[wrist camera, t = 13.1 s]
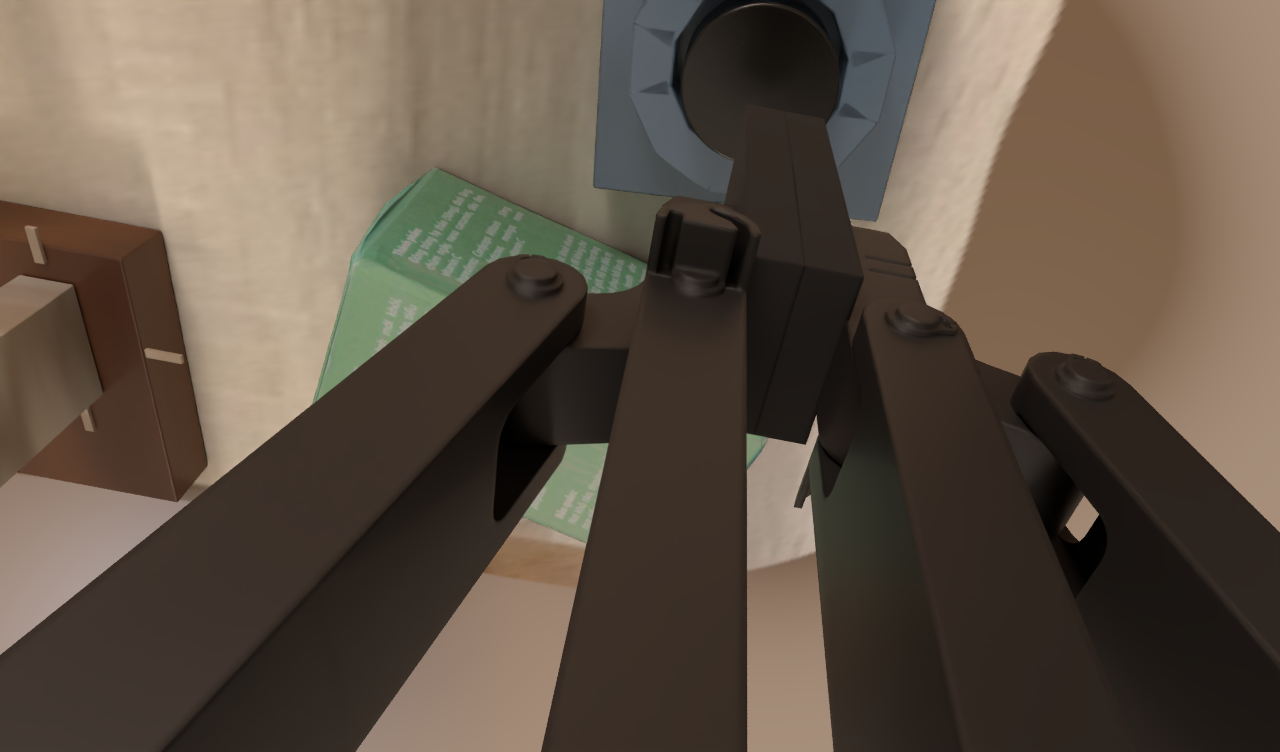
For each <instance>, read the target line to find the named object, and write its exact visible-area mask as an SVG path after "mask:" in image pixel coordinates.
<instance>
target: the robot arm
mask: <svg viewBox="0 0 1280 752" xmlns="http://www.w3.org/2000/svg"><path fill="white" fill-rule="evenodd" d="M911 265H912V264H911V261H910V259H909V256H908V253H907V250H906V249H905V248H904V247H903V246H902V245H901V244H900V243H899V242H898V241H897V240H896V239H895V238H893V237H892V236H891V235H890V234H889V233H885V232H880V231H875V230H870V229H864V228H859V227H854V226H851V222H850V218H849V214H848V211H847V207H846V203H845V199H844V195H843V191H842V187H841V183H840V179H839V175H838V171H837V167H836V163H835V159H834V155H833V151H832V147H831V143H830V139H829V135H828V131H827V127H826V123H825V119H823V118H818V117H812V116H807V115H802V114H797V113H791V112H786V111H781V110H776V109H770V108H765V107H760V106H755V105H749V104H747V105H746V110H745V114H744V118H743V123H742V127H741V131H740V136H739V140H738V145H737V149H736V153H735V158H734V162H733V167H732V171H731V175H730V180H729V184H728V189H727V193H726V197H725V202H724V204H720V203H715V202H710V201H705V200H699V199H694V198H689V197H684V196H679V195H677V196H676V197H674V198H673V199H671V200H670V201H668V202H667V203H665V204H664V205H662V208H661V209H660V210H659V212H658V213H657V214H656V220H655V225H654V231H653V236H652V242H651V247H650V253H649V259H648V264H647V270H646V275H645V279H644V281H642V282H641V283H640V284H639V285H637V286H635V287H633V288H630V289H628V290H624V291H619V292H614V293H587V292H588V285H587V282H586V280H585V277H584V276H583V275H582V274H581V273H580V272H579V271H577V270H576V269H575V268H574V267H572V266H570V265H567V264H565V263H563V262H561V261H558V260H555V259H550V258H546V257H545V256H542V255H534V254H532V256H529V254H519V255H516V256H510V257H505V258H499V259H497V260H495V261H493V262H491V263H489V264H487V265H486V266H484V267H483V268H482V269H481V270H479V271H478V272H477V273H476V274H474V275H473V276H472V277H471V278H469V279H468V280H467V281H466V282H464V283H463V284H462V285H461V286H459V287H458V288H457V289H456V290H454V291H453V292H452V293H451V294H450V295H448V296H447V297H446V298H445V299H443V300H442V301H441V302H440V303H438V304H437V305H436V306H435V307H433V308H432V309H431V310H430V311H428V312H427V313H426V314H425V315H423V316H422V317H421V318H420V319H418V320H417V321H416V322H415V323H413V324H412V325H411V326H410V327H408V328H407V329H406V330H405V331H403V332H402V333H401V334H400V335H398V336H397V337H396V338H395V339H393V340H392V341H391V342H390V343H388V344H387V345H386V346H385V347H383V348H382V349H381V350H380V351H378V352H377V353H376V354H375V355H373V356H372V357H371V358H370V359H369V360H367V361H366V362H365V363H364V364H362V365H361V366H360V367H359V368H357V369H356V370H355V371H354V372H352V373H351V374H350V375H349V376H347V377H346V378H345V379H344V380H342V381H341V382H340V383H339V384H337V385H336V386H335V387H334V388H332V389H331V390H330V391H329V392H327V393H326V394H325V395H324V396H322V397H321V398H320V399H319V400H317V401H316V402H315V403H314V404H312V405H311V406H310V407H309V408H307V409H306V410H305V411H304V412H302V413H301V414H300V415H299V416H297V417H296V418H295V419H294V420H292V421H291V422H290V423H289V424H288V425H286V426H285V427H284V428H283V429H281V430H280V431H279V432H278V433H276V434H275V435H274V436H273V437H271V438H270V439H269V440H268V441H266V442H265V443H264V444H263V445H261V446H260V447H259V448H258V449H256V450H255V451H254V452H253V453H251V454H250V455H249V456H248V457H246V458H245V459H244V460H243V461H241V462H240V463H239V464H238V465H236V466H235V467H234V468H233V469H231V470H230V471H229V472H228V473H226V474H225V475H224V476H223V477H221V478H220V479H219V480H218V481H216V482H215V483H214V484H213V485H212V486H210V487H209V488H208V489H207V490H205V491H204V492H203V493H202V494H200V495H199V496H198V497H197V498H195V499H194V500H193V501H192V502H190V503H189V504H188V505H187V506H185V507H184V508H183V509H182V510H181V511H179V512H178V513H177V514H175V515H174V516H173V517H172V518H170V519H169V520H168V521H167V522H165V523H164V524H163V525H162V526H160V527H159V528H158V529H157V530H156V531H154V532H153V533H152V534H150V535H149V536H148V537H147V538H146V539H144V540H143V541H142V542H141V543H139V544H138V545H137V546H136V547H134V548H133V549H132V550H131V551H129V552H128V553H127V554H126V555H124V556H123V557H122V558H121V559H119V560H118V561H117V562H116V563H114V564H113V565H112V566H111V567H110V568H108V569H107V570H106V571H104V572H103V573H102V574H101V575H99V576H98V577H97V578H96V579H94V580H93V581H92V582H91V583H89V584H88V585H87V586H86V587H84V588H83V589H82V590H81V591H80V592H78V593H77V594H76V595H74V596H73V597H72V598H71V599H70V600H68V601H67V602H66V603H65V604H63V605H62V606H61V607H60V608H58V609H57V610H56V611H54V612H53V613H52V614H51V615H50V616H48V617H47V618H46V619H45V620H43V621H42V622H41V623H40V624H38V625H37V626H36V627H35V628H33V629H32V630H31V631H30V632H28V633H27V634H26V635H25V636H23V637H22V638H21V639H20V640H18V641H17V642H16V643H15V644H13V645H12V646H11V647H10V648H8V649H7V650H6V651H5V652H3V653H2V654H1V655H0V752H356V750H357V749H358V747H359V746H360V745H361V743H362V742H363V740H364V739H365V738H366V736H367V735H368V733H369V732H370V730H371V729H372V728H373V726H374V725H375V724H376V722H377V721H378V719H379V718H380V716H381V715H382V714H383V712H384V711H385V709H386V708H387V706H388V705H389V704H390V702H391V701H392V700H393V698H394V697H395V695H396V694H397V693H398V691H399V690H400V688H401V687H402V686H403V684H404V683H405V681H406V680H407V678H408V677H409V676H410V674H411V673H412V671H413V670H414V669H415V667H416V666H417V664H418V663H419V661H420V660H421V659H422V657H423V656H424V655H425V653H426V652H427V650H428V649H429V648H430V646H431V645H432V643H433V642H434V640H435V639H436V638H437V636H438V635H439V633H440V632H441V631H442V629H443V628H444V626H445V625H446V624H447V622H448V621H449V619H450V618H451V617H452V615H453V614H454V612H455V611H456V609H457V608H458V607H459V605H460V604H461V602H462V601H463V599H464V598H465V597H466V595H467V594H468V593H469V591H470V590H471V588H472V587H473V585H474V584H475V583H476V581H477V580H478V579H479V577H480V576H481V574H482V573H483V572H484V570H485V569H486V567H487V566H488V564H489V563H490V562H491V560H492V559H493V557H494V556H495V555H496V553H497V552H498V550H499V549H500V548H501V546H502V545H503V543H504V542H505V541H506V539H507V538H508V536H509V535H510V534H511V532H512V531H513V529H514V528H515V526H516V525H517V524H518V522H519V521H520V519H521V518H522V517H523V515H524V514H525V512H526V511H527V510H528V508H529V507H530V505H531V504H532V503H533V501H534V500H535V498H536V497H537V496H538V494H539V493H540V491H541V490H542V488H543V487H544V486H545V484H546V483H547V481H548V480H549V479H550V477H551V476H552V474H553V473H554V472H555V470H556V469H557V467H558V466H559V465H560V463H561V462H562V460H563V457H564V454H565V451H566V447H567V445H575V444H601V443H609V444H608V448H607V453H606V458H605V462H604V467H603V471H602V476H601V480H600V485H599V490H598V494H597V499H596V503H595V508H594V512H593V517H592V522H591V526H590V531H589V535H588V540H587V544H586V549H585V554H584V558H583V563H582V567H581V572H580V576H579V581H578V586H577V590H576V595H575V599H574V604H573V609H572V613H571V618H570V622H569V627H568V632H567V636H566V641H565V645H564V649H563V654H562V659H561V663H560V668H559V672H558V677H557V682H556V686H555V691H554V695H553V700H552V705H551V709H550V714H549V718H548V723H547V727H546V732H545V736H544V741H543V745H542V750H541V752H747V434H752V435H758V436H763V437H768V438H773V439H779V440H784V441H789V442H794V443H799V444H805V445H806V442H807V439H808V437H809V434H810V431H811V428H812V425H813V422H814V420H815V417H816V414H817V423H818V432H819V435H818V438H817V441H816V443H815V446H814V449H813V452H812V454H811V457H810V460H809V463H808V466H807V468H806V471H805V474H804V477H803V480H802V482H801V485H800V488H799V491H798V493H797V496H796V500H795V505H794V507H796V508H802V506H803V504H804V501H805V498H806V497H808V496H809V495H811V501H812V512H813V523H814V535H815V546H816V557H817V569H818V579H819V591H820V602H821V614H822V625H823V636H824V647H825V659H826V670H827V681H828V693H829V704H830V714H831V727H832V738H833V749H834V752H1280V532H1279V531H1278V530H1276V528H1275V527H1274V526H1272V524H1271V523H1270V522H1268V521H1267V519H1265V518H1264V517H1263V516H1262V515H1261V514H1260V513H1259V512H1258V511H1257V510H1256V509H1255V508H1254V507H1253V506H1252V505H1251V504H1250V503H1249V502H1248V501H1247V500H1246V499H1245V498H1244V497H1243V496H1242V495H1241V494H1240V493H1239V492H1238V491H1237V490H1236V489H1235V488H1234V487H1233V486H1232V485H1231V484H1230V483H1229V482H1228V481H1227V480H1226V479H1225V478H1224V477H1223V476H1222V475H1221V474H1220V473H1219V472H1218V471H1217V470H1216V469H1215V468H1214V467H1213V466H1212V465H1211V464H1210V463H1209V462H1208V461H1207V460H1206V459H1205V458H1204V457H1203V456H1201V454H1200V453H1198V452H1197V450H1196V449H1195V448H1193V447H1192V446H1191V444H1190V443H1189V442H1187V441H1186V440H1185V439H1184V438H1183V437H1182V436H1181V435H1180V434H1179V433H1178V432H1177V431H1176V430H1175V429H1174V428H1173V427H1172V426H1171V425H1170V424H1169V423H1168V422H1167V421H1166V420H1165V419H1164V418H1163V417H1162V416H1161V415H1160V414H1159V413H1158V412H1157V411H1156V410H1155V409H1154V408H1153V407H1152V406H1151V405H1150V404H1149V403H1148V402H1147V401H1146V400H1145V399H1144V398H1143V397H1142V396H1141V395H1140V394H1139V393H1138V392H1137V391H1136V390H1135V389H1134V388H1133V387H1132V386H1131V385H1130V384H1128V383H1127V382H1126V381H1124V380H1123V379H1122V378H1121V377H1119V376H1118V375H1117V374H1116V373H1114V372H1112V371H1110V370H1108V369H1106V368H1104V367H1103V366H1102V365H1101V364H1100V363H1098V362H1097V361H1094V360H1092V359H1089V358H1086V359H1084V356H1080V355H1077V354H1064V353H1059V352H1045V353H1038V354H1036V355H1035V356H1033V357H1031V358H1030V359H1029V361H1028V363H1027V365H1026V367H1025V369H1024V371H1023V373H1022V374H1021V376H1018V375H1015V374H1012V373H1009V372H1007V371H1004V370H1001V369H998V368H996V367H993V366H990V365H987V364H985V363H983V362H980V361H978V360H975V358H974V355H973V353H972V351H971V348H970V346H969V343H968V341H967V338H966V336H965V334H964V332H963V331H962V329H961V328H960V327H959V325H958V324H957V323H956V322H955V321H954V320H953V319H952V318H950V317H949V316H947V315H946V314H944V313H943V312H941V311H939V310H936V309H934V308H932V307H930V306H928V305H926V302H925V300H924V297H923V294H922V291H921V289H920V286H919V283H918V280H916V275H915V272H914V269H913V267H911ZM1083 496H1085V497H1086V498H1087V499H1088V500H1089V502H1090V503H1091V504H1092V506H1093V507H1094V508H1095V509H1096V511H1097V512H1098V513H1099V516H1098V517H1097V519H1096V520H1095V522H1094V524H1093V525H1092V527H1091V528H1090V529H1089V531H1088V533H1087V534H1086V536H1085V537H1084V538H1083V539H1082V540H1081V541H1080V542H1079V541H1078V540H1077V539H1076V538H1075V537H1074V536H1073V535H1072V534H1071V533H1070V531H1069V530H1068V528H1067V527H1066V526H1065V525H1066V523H1067V522H1068V520H1069V519H1070V517H1071V516H1072V514H1073V512H1074V511H1075V509H1076V507H1077V506H1078V504H1079V503H1080V501H1081V500H1082V498H1083Z"/></svg>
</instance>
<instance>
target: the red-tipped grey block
mask: <svg viewBox="0 0 1280 752" xmlns="http://www.w3.org/2000/svg"><path fill="white" fill-rule="evenodd" d="M102 394H103V390H102V387H101V383H100V380H99V376H98V372H97V369H96V365H95V361H94V358H93V354H92V351H91V347H90V343H89V340H88V336H87V332H86V329H85V325H84V322H83V318H82V314H81V311H80V307H79V303H78V300H77V296H76V293H75V289H74V286H73V285H71V284H66V283H61V282H55V281H50V280H45V279H39V278H34V277H29V276H23V275H19V276H17V277H16V278H14V279H13V280H11V281H10V282H8V283H7V284H5V285H3V286H2V287H0V487H2V485H4V484H5V483H6V482H7V481H8V480H9V479H10V478H11V477H12V476H14V475H15V474H16V473H17V472H18V471H19V470H20V469H21V468H22V467H23V466H25V465H26V464H27V463H28V462H29V461H30V460H31V459H32V458H33V457H34V456H35V455H37V454H38V453H39V452H40V451H41V450H42V449H43V448H44V447H45V446H46V445H48V444H49V443H50V442H51V441H52V440H53V439H54V438H55V437H56V436H57V435H58V434H60V433H61V432H62V431H63V430H64V429H65V428H66V427H67V426H68V425H69V424H71V423H72V422H73V421H74V420H75V419H76V418H77V417H78V416H79V415H80V414H82V413H83V412H84V411H85V410H86V409H87V408H88V407H89V406H90V405H91V404H92V403H94V402H95V401H96V400H97V399H98V398H99V397H100V396H101V395H102Z"/></svg>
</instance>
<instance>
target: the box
mask: <svg viewBox="0 0 1280 752" xmlns="http://www.w3.org/2000/svg"><path fill="white" fill-rule="evenodd" d="M519 254H529V256H532V254H534V255H542V256H545V257H546V258H550V259H555V260H558V261H561V262H563V263H565V264H567V265H570V266H572V267H574V268H575V269H576V270H577V271H579V272H580V273H581V274H582V275H583V276H584V277H585V280H586V282H587V285H588V292H587V293H614V292H619V291H624V290H628V289H630V288H633V287H635V286H637V285H639V284H640V283H641V282H642V281H644V279H645V275H646V270H647V264H648V263H645V262H643V261H641V260H639V259H636V258H634V257H632V256H630V255H628V254H625V253H623V252H621V251H619V250H616V249H614V248H612V247H610V246H608V245H605V244H603V243H601V242H599V241H596V240H594V239H592V238H590V237H588V236H585V235H583V234H581V233H579V232H577V231H574V230H572V229H570V228H568V227H566V226H563V225H561V224H559V223H557V222H554V221H552V220H550V219H548V218H545V217H543V216H541V215H539V214H536V213H534V212H532V211H530V210H528V209H525V208H523V207H521V206H519V205H516V204H514V203H512V202H510V201H507V200H505V199H503V198H501V197H499V196H497V195H495V194H492V193H490V192H488V191H486V190H484V189H482V188H480V187H477V186H475V185H473V184H471V183H469V182H467V181H465V180H462V179H460V178H458V177H456V176H454V175H452V174H449V173H447V172H445V171H443V170H441V169H438V168H436V167H435V168H433V169H432V170H430V171H429V172H428V173H426V174H425V175H424V176H422V177H421V178H420V179H418V180H417V181H415V182H414V183H412V184H410V185H409V186H407V187H406V188H405V189H403V190H402V191H401V192H400V193H398V194H397V195H396V196H395V197H393V198H392V199H391V200H389V201H388V202H387V203H386V204H385V205H384V207H383V208H382V210H381V211H380V213H379V214H378V216H377V217H376V219H375V220H374V221H373V223H372V224H371V226H370V227H369V229H368V230H367V232H366V233H365V235H364V237H363V238H362V240H361V242H360V244H359V245H358V247H357V249H356V250H355V252H354V253H353V255H352V256H351V261H350V266H349V271H348V275H347V280H346V284H345V288H344V292H343V296H342V300H341V304H340V307H339V311H338V314H337V318H336V321H335V325H334V328H333V332H332V335H331V339H330V342H329V346H328V349H327V353H326V357H325V361H324V364H323V368H322V372H321V375H320V379H319V383H318V386H317V390H316V393H315V397H314V400H313V403H312V404H314V403H315V402H316V401H317V400H319V399H320V398H321V397H322V396H324V395H325V394H326V393H327V392H329V391H330V390H331V389H332V388H334V387H335V386H336V385H337V384H339V383H340V382H341V381H342V380H344V379H345V378H346V377H347V376H349V375H350V374H351V373H352V372H354V371H355V370H356V369H357V368H359V367H360V366H361V365H362V364H364V363H365V362H366V361H367V360H369V359H370V358H371V357H372V356H373V355H375V354H376V353H377V352H378V351H380V350H381V349H382V348H383V347H385V346H386V345H387V344H388V343H390V342H391V341H392V340H393V339H395V338H396V337H397V336H398V335H400V334H401V333H402V332H403V331H405V330H406V329H407V328H408V327H410V326H411V325H412V324H413V323H415V322H416V321H417V320H418V319H420V318H421V317H422V316H423V315H425V314H426V313H427V312H428V311H430V310H431V309H432V308H433V307H435V306H436V305H437V304H438V303H440V302H441V301H442V300H443V299H445V298H446V297H447V296H448V295H450V294H451V293H452V292H453V291H454V290H456V289H457V288H458V287H459V286H461V285H462V284H463V283H464V282H466V281H467V280H468V279H469V278H471V277H472V276H473V275H474V274H476V273H477V272H478V271H479V270H481V269H482V268H483V267H484V266H486V265H487V264H489V263H491V262H493V261H495V260H497V259H499V258H505V257H510V256H516V255H519ZM766 442H767V437H763V436H758V435H752V434H747V469H748V468H749V467H750V465H751V464H752V463H753V461H754V460H755V459H756V458H757V456H758V455H759V454H760V453H761V451H762V450H763V448H764V446H765V444H766ZM608 444H609V443H601V444H575V445H567V447H566V451H565V454H564V457H563V460H562V462H561V463H560V465H559V466H558V467H557V469H556V470H555V472H554V473H553V474H552V476H551V477H550V479H549V480H548V481H547V483H546V484H545V486H544V487H543V488H542V490H541V491H540V493H539V494H538V496H537V497H536V498H535V500H534V501H533V503H532V504H531V505H530V507H529V508H528V510H527V511H526V512H525V514H524V515H523V518H526V519H528V520H531V521H533V522H536V523H538V524H541V525H543V526H546V527H548V528H550V529H553V530H555V531H558V532H560V533H562V534H565V535H567V536H570V537H572V538H575V539H577V540H579V541H582V542H584V543H587V540H588V535H589V531H590V526H591V522H592V517H593V512H594V508H595V503H596V499H597V494H598V490H599V485H600V480H601V476H602V471H603V467H604V462H605V458H606V453H607V448H608Z"/></svg>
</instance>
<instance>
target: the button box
mask: <svg viewBox="0 0 1280 752" xmlns="http://www.w3.org/2000/svg"><path fill="white" fill-rule="evenodd" d="M724 1H725V0H603V14H602V32H601V51H600V69H599V87H598V106H597V124H596V142H595V161H594V179H593V186H594V188H601V189H609V190H617V191H626V192H634V193H642V194H650V195H659V196H667V197H676V196H677V195H679V196H684V197H689V198H694V199H699V200H705V201H710V202H717V203H724V202H725V197H726V193H727V189H728V184H729V180H730V175H731V171H732V167H733V162H734V161H733V160H730V159H727V158H725V157H723V156H721V155H719V154H717V153H716V152H714V151H713V150H711V149H710V148H709V147H707V146H706V145H705V144H704V143H703V142H702V141H701V140H700V139H699V138H698V137H697V135H696V134H695V132H694V131H693V130H692V128H691V126H690V124H689V122H688V120H687V118H686V116H685V113H684V110H683V106H682V101H681V92H680V84H681V74H682V68H683V64H684V60H685V56H686V52H687V49H688V45H689V42H690V40H691V38H692V36H693V33H694V32H695V30H696V29H697V27H698V25H699V24H700V23H701V21H702V20H703V19H704V18H705V16H706V15H707V14H708V13H709V12H710V11H712V10H713V9H714V8H715V7H716V6H718V5H719V4H720V3H722V2H724ZM800 1H802V2H803V3H805V4H806V5H807V6H809V7H810V8H811V9H812V10H813V11H814V12H815V13H816V14H817V16H818V17H819V18H820V19H821V21H822V22H823V24H824V26H825V28H826V29H827V32H828V34H829V37H830V39H831V42H832V44H833V47H834V50H835V52H836V55H837V59H838V63H839V71H840V88H839V94H838V99H837V102H836V106H835V109H834V111H833V113H832V116H831V118H830V119H829V121H828V123H827V124H826V127H827V131H828V135H829V139H830V143H831V147H832V151H833V155H834V159H835V163H836V167H837V171H838V175H839V179H840V183H841V187H842V191H843V195H844V199H845V203H846V207H847V211H848V214H849V218H850V219H857V220H865V221H874V222H876V221H877V219H878V215H879V212H880V208H881V204H882V201H883V197H884V193H885V189H886V186H887V182H888V178H889V174H890V171H891V167H892V163H893V160H894V156H895V152H896V148H897V145H898V141H899V137H900V133H901V130H902V126H903V122H904V119H905V115H906V111H907V107H908V104H909V100H910V96H911V92H912V89H913V85H914V81H915V78H916V74H917V70H918V66H919V63H920V59H921V55H922V52H923V48H924V44H925V40H926V37H927V33H928V29H929V25H930V22H931V18H932V14H933V11H934V7H935V3H936V0H800Z"/></svg>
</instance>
